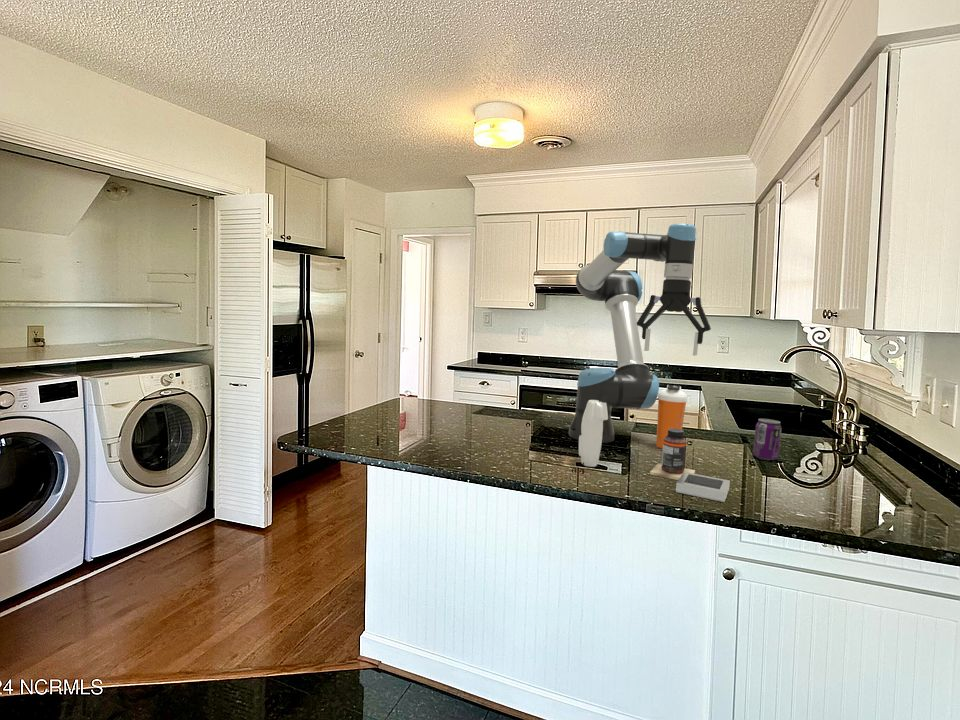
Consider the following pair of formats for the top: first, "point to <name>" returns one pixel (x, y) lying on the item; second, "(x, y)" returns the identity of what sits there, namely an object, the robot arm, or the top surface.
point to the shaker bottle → (670, 411)
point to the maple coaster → (661, 473)
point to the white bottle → (592, 432)
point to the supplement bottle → (674, 451)
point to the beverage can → (767, 439)
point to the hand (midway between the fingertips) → (670, 353)
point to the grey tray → (703, 486)
